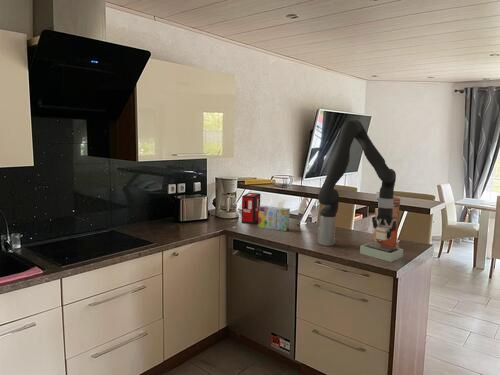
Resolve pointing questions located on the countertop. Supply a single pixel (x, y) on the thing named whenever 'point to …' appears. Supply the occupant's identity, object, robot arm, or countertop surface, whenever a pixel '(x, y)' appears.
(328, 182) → the robot arm
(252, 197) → the cleaning product box
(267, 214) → the snack box
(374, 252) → the tote
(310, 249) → the countertop surface
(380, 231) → the cream carton
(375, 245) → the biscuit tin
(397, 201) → the orange tall flat container
